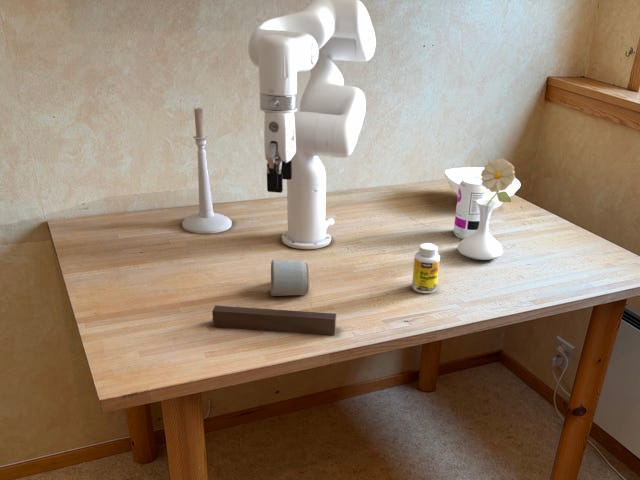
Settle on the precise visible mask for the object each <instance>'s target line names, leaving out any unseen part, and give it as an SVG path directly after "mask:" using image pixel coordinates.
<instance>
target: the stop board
mask: <svg viewBox="0 0 640 480" xmlns="http://www.w3.org/2000/svg"><path fill="white" fill-rule="evenodd" d="M211 313H212V314H211V315H212V316H211V317H212V326H213V328H226V329H227V328H228V329H238V330H239V329H241V330H255V331H269V332H270V331H271V332H281V333H282V332H285V333H299V334H313V335H328V336H335V334H336V330H337V313H334V312H333V313H332V312H318V311H305V310H303V311H302V310H291V309H290V310H287V309H275V308H259V307H258V308H257V307H245V306H231V305H230V306H229V305H218V304H217V305H214V307H213V308H212V312H211Z"/></svg>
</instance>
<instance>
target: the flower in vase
mask: <svg viewBox="0 0 640 480" xmlns="http://www.w3.org/2000/svg"><path fill="white" fill-rule="evenodd" d="M483 168H484V170H482V173H481V176H482V178H481V180H482V181H483V182H482V183H481V184H482V185H483V187H485V188H486V189H489V191H491V192H496V194H495V195H494V196H493V197H492V198H491V199H479V200H477V201H476V202H477V204H478V206H479V210H480V221H479V227H478V229H477V231H476V232H474V233H473V234H471V235H469V236H468V237H466V238H464V239H461V240H460V241H459V243H458V244H457V249H458V252H459V253H460V254H461V255H463V256H465V257H467V258H470V259H473V260H477V261H478V260H479V261H489V260H495V259H497V258H500V257H501V256H502V255H503V253H504V249H503V246H502V245H501V244H500V242H499V241H498V240H497V239H496V238H495V237H493V235H492V234H491V233H490V231H489V221H490V217H491V214H492V212H493V210H494V209H495V208H494V207H495V206H496V205H497V202H496V201H494V200H492V199H493V198H494V197H495V196H496V195H497V197H498V200H499V201H500V202H503V203H512V199H511V196H509V195H508V194H507V192H505V191H503V190H506V189H507V188H508V187H509V184H512V181H513V180H514V179H515V178H516V171H515V166H514V165H513V164H512V163H511V162H509V161H508V160H506V159H504V157H501V158H499V159H498V158H495V159H494V160H489V161H488V163H487V164H485V165H484V167H483ZM479 188H480V186H479ZM480 189H481V188H480ZM500 190H501V191H502V192H499V191H500ZM481 191H482V192H484V193H485V194H487V195H488V196H489V197H491V196H490V195H489V194H488V193H487V192H486V191H484V190H483V189H481Z"/></svg>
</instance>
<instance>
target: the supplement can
mask: <svg viewBox="0 0 640 480" xmlns="http://www.w3.org/2000/svg"><path fill="white" fill-rule="evenodd" d="M482 182H483V181H482V180H481V177H464V178H463V179H462V181H461V182H460V184H459V190H458V196H457V199H456V207H455V214H454V215H455V217H454V225H453V234H455V236H456V237H457V238H458V239H461V240H463V239H464V238H466V237H468V236H469V235H471V234H473V233H474V232H476V231H477V229H478V227H479V221H480V210H479V206H478V204H477V202H476V201H477V200H479V199H490V197H489V196H488V195H487V194H485V193H484V192H482V191H481V189H483V190H484V191H486V192H487V193H488V194H489V195H490V191H489V189H486V188H485V187H483V185H482V184H481V183H482ZM479 186H480V188H481V189H480V188H479Z"/></svg>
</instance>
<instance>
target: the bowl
mask: <svg viewBox="0 0 640 480" xmlns="http://www.w3.org/2000/svg"><path fill="white" fill-rule="evenodd" d="M482 170H484V167H478V166H477V167H475V166H473V167H454V168H448V169H445V171H444V176H445V179H446V181H447V183H448V185H449V187H450V188H451V189H452V190H453V191H454V192H455V193H456V196H457V197H458V190H459V184H460V182H461V181H462V179H463V178H464V177H481V178H482V176H481V173H482ZM520 188H521V181H520V180H519V179H518V178H516V177H515V179H514V180H513V181H512V184H509V187H508V188H507V189H506V190H503V191H505V192H507V194H508V195H509V197H512V196H514V195H515V193H516V192H517V191H518V190H519V189H520ZM499 192H502V191H501V190H500V191H499ZM495 194H496V192H491V191H490V196H491V197H490V199H491V198H492V197H493V196H494V195H495ZM492 200H494V201H496V202H497V205H496V206H495V207H494V208H493V209H497V208H499V207H500V206H501V205H502V204H503V203H504V202H500V201H499V200H498V197H497V195H496V196H495V197H494V198H493V199H492Z"/></svg>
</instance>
